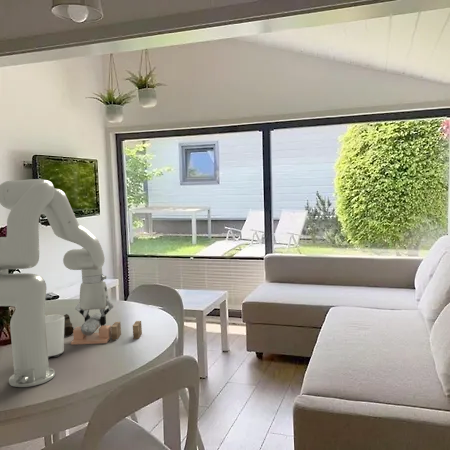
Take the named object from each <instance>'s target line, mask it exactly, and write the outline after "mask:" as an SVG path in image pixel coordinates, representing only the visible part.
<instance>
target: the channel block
mask: <svg viewBox="0 0 450 450" xmlns="http://www.w3.org/2000/svg"><path fill="white" fill-rule="evenodd" d="M121 326H122V325H121V321H115V322H113V324H112V325H111V333H112V337H111V340H112V341H116V340H115V339H117V340H118V339H119V338H120V337H121V335H122V328H121ZM142 329H143V328H142V320H136V321H135V322H134V323H133V324H132V336H133V338H132V339H133V340H138V339H140V338H141V337H142V335H143V330H142Z"/></svg>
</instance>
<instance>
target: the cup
mask: <svg viewBox="0 0 450 450" xmlns="http://www.w3.org/2000/svg"><path fill="white" fill-rule="evenodd" d="M64 321H65V317H64V315H63V314H48V315H45V325H46V337H47V350H48V359H50V358H51V357H53V358H58V357H60V355H62V354H63V353H64V352H65V336H64Z"/></svg>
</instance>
